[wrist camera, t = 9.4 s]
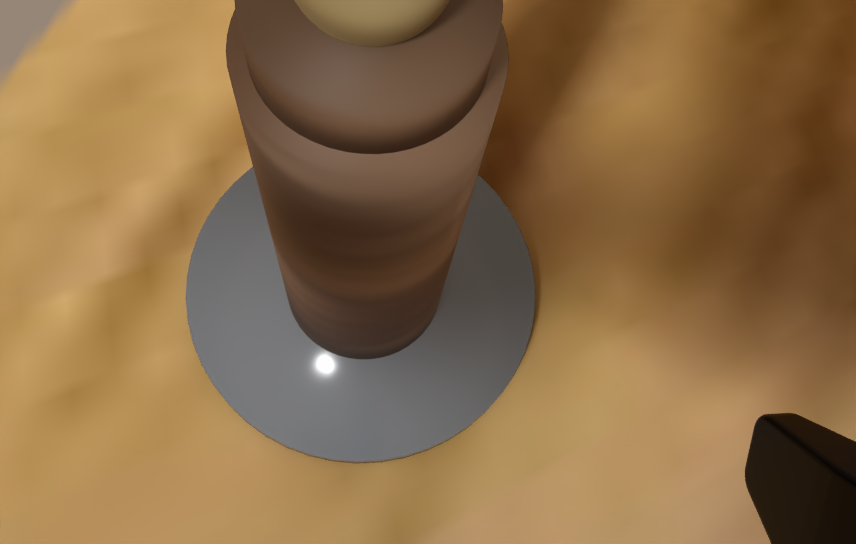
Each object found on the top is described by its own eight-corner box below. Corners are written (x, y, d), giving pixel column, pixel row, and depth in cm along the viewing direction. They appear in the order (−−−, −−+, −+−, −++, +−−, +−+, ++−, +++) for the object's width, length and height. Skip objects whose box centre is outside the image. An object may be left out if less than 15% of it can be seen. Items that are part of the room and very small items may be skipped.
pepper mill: (468, 265, 23) (618, -147, 10) (386, 389, 21) (432, 100, 8) (344, 189, 23) (325, -300, 10) (255, 305, 22) (99, -95, 9)
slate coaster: (598, 328, 23) (604, 322, 23) (318, 540, 20) (317, 539, 20) (400, 89, 26) (401, 79, 25) (125, 251, 23) (119, 243, 22)
